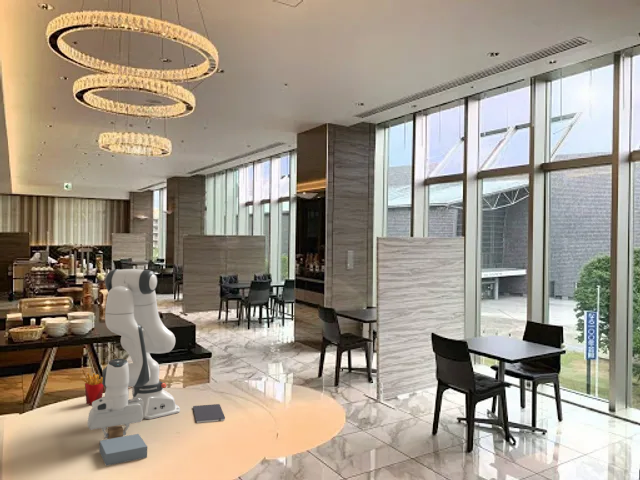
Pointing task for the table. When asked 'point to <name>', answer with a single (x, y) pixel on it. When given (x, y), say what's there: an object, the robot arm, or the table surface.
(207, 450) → the table surface
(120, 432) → the walnut cube
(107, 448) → the slate plinth
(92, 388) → the french fries
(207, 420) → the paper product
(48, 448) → the table surface
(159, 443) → the table surface
